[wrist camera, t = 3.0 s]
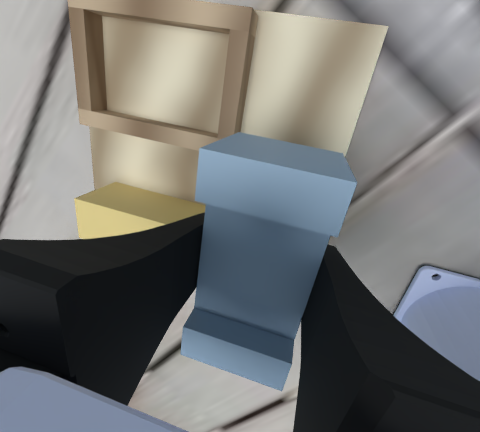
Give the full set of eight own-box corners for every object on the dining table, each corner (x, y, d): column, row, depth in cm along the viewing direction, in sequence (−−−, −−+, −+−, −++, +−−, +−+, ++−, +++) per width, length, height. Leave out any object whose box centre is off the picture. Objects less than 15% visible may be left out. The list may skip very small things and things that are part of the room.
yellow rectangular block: (236, 213, 19) (217, 238, 16) (230, 248, 21) (212, 278, 17) (115, 181, 21) (74, 198, 18) (116, 215, 22) (79, 237, 19)
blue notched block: (238, 132, 11) (199, 148, 7) (343, 153, 10) (357, 182, 6) (215, 289, 14) (180, 354, 10) (291, 313, 13) (281, 391, 10)
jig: (384, 30, 14) (396, 18, 12) (306, 268, 21) (305, 288, 19) (90, -7, 17) (56, -23, 15) (104, 210, 24) (83, 222, 22)
